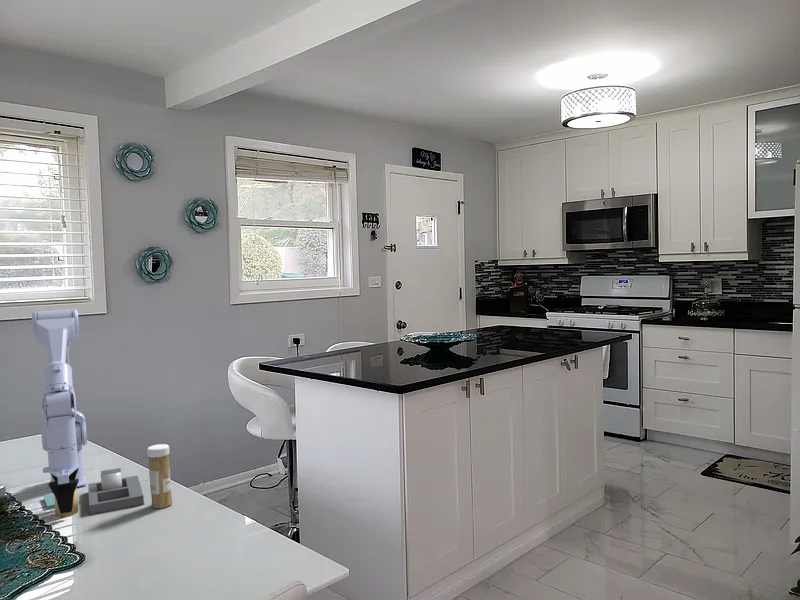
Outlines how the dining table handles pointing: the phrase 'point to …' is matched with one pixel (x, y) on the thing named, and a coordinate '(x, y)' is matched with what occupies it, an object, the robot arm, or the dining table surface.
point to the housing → (115, 496)
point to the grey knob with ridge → (111, 478)
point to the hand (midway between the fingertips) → (66, 506)
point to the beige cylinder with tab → (74, 508)
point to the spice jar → (159, 475)
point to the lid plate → (49, 501)
